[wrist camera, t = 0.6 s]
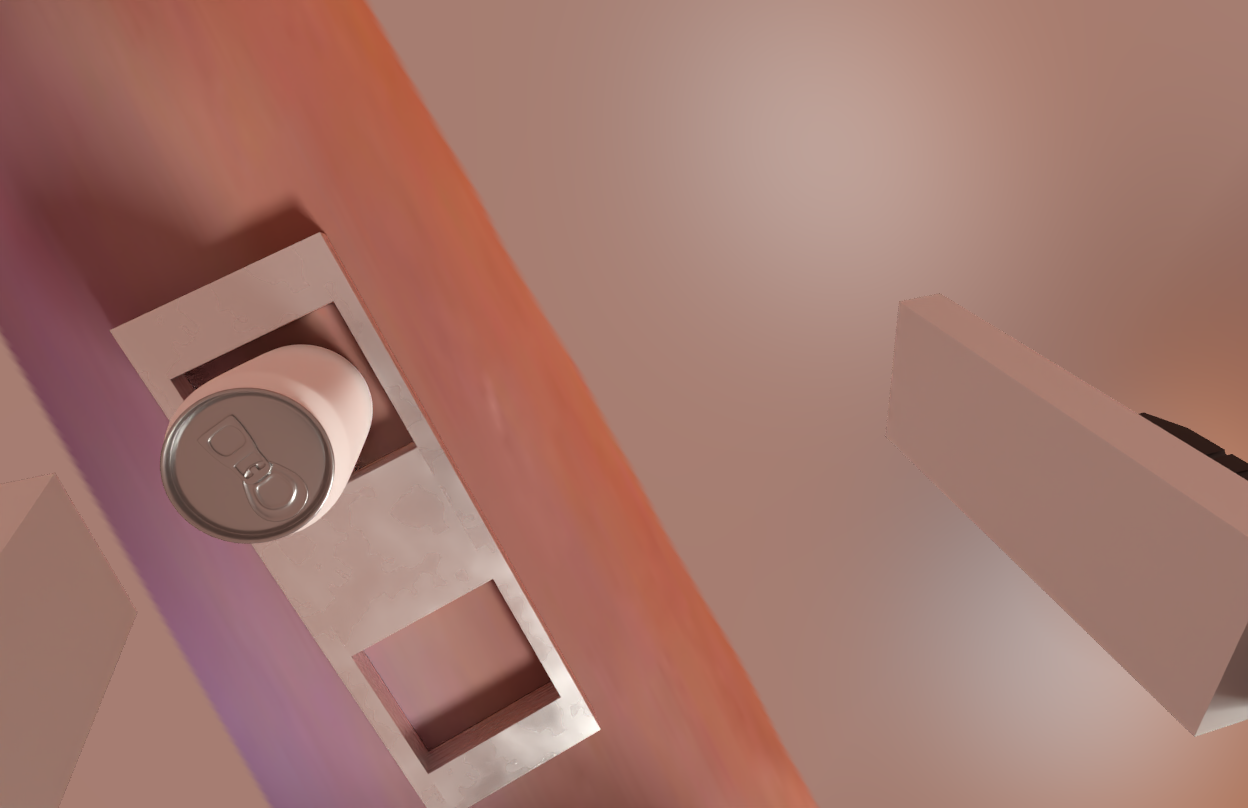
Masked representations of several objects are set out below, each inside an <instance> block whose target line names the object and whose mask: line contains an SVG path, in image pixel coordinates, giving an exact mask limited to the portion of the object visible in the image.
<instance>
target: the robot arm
mask: <svg viewBox="0 0 1248 808" xmlns="http://www.w3.org/2000/svg"><path fill="white" fill-rule="evenodd" d="M894 348H895V349H894V358H893V367H892V368H893V369H892V378H891V388H890V397H889V408H888V418H887V427H886V438H887V439H888V440H889V441H891V443H892V444H894V445H895V446H896V447H897V448H898V449H899V450H900V451H901V452H902V453H903V454H904V455H905V456H906V457H907V458H908V459H909V460H910V461H911V462H912V463H913V464H914V465H915V466H916V467H917V468H918V469H919V470H920V471H921V472H922V473H923V474H924V475H925V476H926V477H928V479H930V480H931V481H932V482H933V483H934V484H935V485H936V486H937V487H938V488H939V489H940V490H941V491H942V492H943V493H944V494H945V495H946V496H947V497H948V498H949V499H950V500H951V501H952V502H953V503H954V504H955V505H956V506H957V507H958V508H959V509H960V510H962V512H963V513H965V514H966V515H967V516H968V517H969V518H970V519H971V520H972V521H973V522H974V523H975V524H976V525H977V526H978V527H979V528H980V529H981V530H982V531H983V532H984V533H985V534H986V535H987V536H988V537H989V538H990V539H991V540H992V541H993V542H994V543H995V544H996V545H997V546H999V547H1000V548H1001V549H1002V550H1003V551H1004V552H1005V553H1006V554H1007V555H1008V556H1009V557H1010V558H1011V559H1012V560H1013V561H1014V562H1015V563H1016V564H1017V565H1018V566H1019V567H1020V568H1021V569H1022V570H1023V571H1024V572H1025V573H1026V574H1027V575H1028V576H1029V577H1030V578H1031V579H1033V580H1034V581H1035V582H1036V583H1037V584H1038V585H1039V586H1040V587H1041V588H1042V589H1043V590H1044V591H1045V592H1046V593H1047V594H1048V595H1049V596H1050V597H1051V598H1052V599H1053V600H1054V601H1055V602H1056V603H1057V604H1058V605H1059V606H1060V607H1061V608H1062V609H1063V610H1064V611H1065V612H1067V614H1068V615H1069V616H1071V617H1072V618H1073V619H1074V620H1075V621H1076V622H1077V623H1078V624H1079V625H1080V626H1081V627H1082V628H1083V629H1084V630H1085V631H1086V632H1087V633H1088V634H1089V635H1090V636H1091V637H1092V638H1093V639H1094V640H1095V641H1096V642H1097V643H1098V644H1099V645H1100V646H1101V647H1103V649H1104V650H1106V651H1107V652H1108V653H1109V654H1110V655H1111V656H1112V657H1113V658H1114V659H1115V660H1116V661H1117V662H1118V663H1119V664H1120V665H1121V666H1122V667H1123V668H1124V669H1125V670H1126V671H1127V672H1128V673H1129V674H1130V675H1131V676H1132V677H1133V678H1134V679H1135V680H1136V681H1137V682H1138V683H1139V684H1140V685H1142V686H1143V687H1144V688H1145V689H1146V690H1147V691H1148V692H1149V693H1150V694H1151V695H1152V696H1153V697H1154V698H1155V699H1156V700H1157V701H1158V702H1159V703H1160V704H1161V705H1162V706H1163V707H1164V708H1165V709H1166V710H1167V711H1168V712H1170V713H1171V715H1172V716H1173V717H1175V718H1176V719H1177V720H1178V721H1179V722H1180V723H1181V724H1182V725H1183V726H1184V727H1185V728H1186V729H1187V730H1188V731H1189V732H1190V733H1191V734H1192V735H1193V736H1194V737H1195V736H1198V735H1201V734H1204V733H1207V732H1210V731H1213V730H1216V729H1220V728H1223V727H1225V726H1229V725H1231V724H1235V723H1238V722H1241V721H1244V720H1247V719H1248V463H1246V462H1245V461H1243V460H1241V459H1239V458H1238V457H1236V456H1234V455H1233V454H1230V455H1226V454H1225V450H1224V449H1222V448H1220V447H1219V446H1217V445H1216V444H1214V443H1212V442H1210V441H1209V440H1207V439H1205V438H1204V437H1202V436H1200V435H1199V434H1197V433H1195V432H1194V431H1192V430H1190V429H1188V428H1186V427H1183V426H1180V425H1178V424H1175V423H1172V422H1169V421H1166V420H1163V419H1160V418H1158V417H1155V416H1152V415H1149V414H1146V413H1141V414H1137V413H1136V412H1134V411H1132V410H1130V409H1129V408H1127V407H1126V406H1124V405H1122V404H1121V403H1119V402H1118V401H1116V400H1114V399H1113V398H1111V397H1109V396H1108V395H1106V394H1104V393H1103V392H1101V391H1099V390H1098V389H1096V388H1095V387H1093V386H1091V385H1090V384H1088V383H1086V382H1085V381H1083V380H1081V379H1080V378H1078V377H1076V376H1075V375H1073V374H1071V373H1070V372H1068V371H1067V370H1065V369H1063V368H1062V367H1060V366H1058V365H1057V364H1055V363H1053V362H1052V361H1050V360H1048V359H1047V358H1045V357H1043V356H1042V355H1040V354H1038V353H1037V352H1035V351H1034V350H1032V349H1030V348H1029V347H1027V346H1025V345H1024V344H1022V343H1021V342H1019V341H1017V340H1015V339H1014V338H1012V337H1011V336H1009V335H1007V334H1006V333H1004V332H1002V331H1001V330H999V329H997V328H996V327H994V326H993V325H991V324H989V323H988V322H986V321H984V320H983V319H981V318H979V317H978V316H976V315H975V314H973V313H971V312H969V311H968V310H966V309H965V308H963V307H961V306H960V305H958V304H956V303H955V302H953V301H952V300H950V299H948V298H947V297H945V296H943V295H942V294H940V293H939V294H934V295H929V296H924V297H919V298H914V299H909V300H904V301H899V308H898V317H897V327H896V337H895V347H894ZM136 615H137V610H136V608H135V607H134V605H133V603H132V602H131V600H130V598H129V596H128V595H127V593H126V591H125V590H124V588H123V586H122V585H121V583H120V581H119V580H118V578H117V576H116V575H115V573H114V571H113V570H112V568H111V566H110V564H109V563H108V561H107V559H106V558H105V556H104V554H103V553H102V551H101V550H100V548H99V546H98V544H97V543H96V541H95V539H94V538H93V536H92V534H91V532H90V531H89V529H88V527H87V526H86V524H85V523H84V521H83V519H82V517H81V516H80V514H79V512H78V511H77V509H76V507H75V506H74V504H73V502H72V500H71V499H70V497H69V495H68V494H67V492H66V491H65V489H64V487H63V485H62V484H61V482H60V480H59V479H58V477H57V475H56V473H52V474H47V475H42V476H38V477H32V478H27V479H23V480H18V481H13V482H8V483H3V484H0V808H59V805H60V803H61V800H62V798H63V795H64V793H65V790H66V788H67V786H68V783H69V781H70V778H71V776H72V773H73V771H74V768H75V766H76V763H77V761H78V758H79V756H80V753H81V751H82V748H83V746H84V744H85V741H86V738H87V736H88V734H89V731H90V729H91V726H92V724H93V721H94V719H95V716H96V713H97V711H98V709H99V706H100V704H101V701H102V699H103V697H104V694H105V692H106V689H107V687H108V684H109V682H110V679H111V677H112V674H113V672H114V669H115V667H116V664H117V662H118V659H119V657H120V655H121V652H122V649H123V647H124V645H125V642H126V640H127V637H128V635H129V632H130V630H131V627H132V625H133V622H134V620H135V617H136Z"/></svg>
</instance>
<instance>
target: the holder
mask: <svg viewBox="0 0 1248 808" xmlns="http://www.w3.org/2000/svg"><path fill="white" fill-rule="evenodd" d="M332 302H334V303H335V304H336V306H337V308H338V310H339V311H340V313H341V315H342V317H343V318H344V320H345V322H346V324H347V325H348V327H349V329H350V331H351V332H352V334H353V336H354V338H355V339H356V341H357V343H358V345H359V346H360V348H361V350H362V352H363V353H364V355H365V357H366V358H367V360H368V362H369V364H370V365H371V367H372V369H373V371H374V372H375V374H376V376H377V378H378V379H379V381H380V383H381V385H382V386H383V388H384V390H385V392H386V393H387V395H388V397H389V399H390V400H391V402H392V404H393V406H394V407H395V409H396V411H397V412H398V414H399V416H400V418H401V419H402V421H403V423H404V425H405V426H406V428H407V430H408V432H409V433H410V435H411V437H412V439H413V440H414V441H413V442H411V443H409V444H407V445H406V446H404V447H402V448H400V449H398V450H396V451H394V452H392V453H390V454H388V455H386V456H384V457H382V458H380V459H378V460H376V461H374V462H373V463H371V464H369V465H367V466H365V467H363V468H361V469H359V470H357V471H355V472H353V473H351V476H350V478H349V480H348V482H347V484H346V486H345V488H344V490H343V492H342V494H341V495H340V497H339V498H338V500H337V501H336V503H335V504H334V505H333V506H332V507H331V508H330V510H329V511H328V512H327V513H326V514H325V515H323V516H322V517H321V518H320V519H319V520H317V521H316V522H315V523H313V524H312V525H310V526H308V527H306V528H305V529H303V530H300V531H298V532H296V533H293V534H290V535H287V536H285V537H283V538H280V539H277V540H273V541H269V542H264V543H253V544H252V546H253V547H254V549H255V550H256V552H257V553H258V555H259V556H260V558H261V559H262V561H263V562H264V564H265V565H266V567H267V568H268V570H269V571H270V573H271V574H272V576H273V577H274V579H275V580H276V582H277V583H278V585H279V586H280V588H281V589H282V591H283V592H284V594H285V595H286V597H287V598H288V600H289V601H290V603H291V604H292V606H293V607H294V609H295V610H296V612H297V613H298V615H299V616H300V618H301V619H302V621H303V622H304V624H305V625H306V627H307V628H308V630H309V632H310V633H311V635H312V636H313V638H314V639H315V641H316V642H317V644H318V645H319V647H320V648H321V650H322V651H323V653H324V654H325V656H326V657H327V659H328V660H329V662H330V663H331V665H332V666H333V668H334V669H335V671H336V672H337V674H338V675H339V677H340V678H341V680H342V681H343V683H344V684H345V686H346V687H347V689H348V690H349V692H350V693H351V695H352V696H353V698H354V699H355V701H356V702H357V704H358V705H359V707H360V708H361V710H362V711H363V713H364V714H365V716H366V717H367V719H368V720H369V722H370V723H371V725H372V726H373V728H374V729H375V731H376V732H377V734H378V735H379V737H380V738H381V740H382V741H383V743H384V744H385V746H386V747H387V749H388V750H389V752H390V753H391V755H392V756H393V758H394V759H395V761H396V762H397V764H398V765H399V767H400V768H401V770H402V771H403V773H404V774H405V776H406V777H407V779H408V780H409V782H410V783H411V785H412V787H413V788H414V790H415V791H416V793H417V794H418V796H419V797H420V799H421V800H422V802H423V803H424V805H425V806H426V808H468V807H470V806H472V805H473V804H475V803H477V802H479V801H480V800H482V799H484V798H485V797H487V796H489V795H490V794H492V793H494V792H495V791H497V790H499V789H501V788H502V787H504V786H506V785H507V784H509V783H511V782H512V781H514V780H516V779H518V778H519V777H521V776H523V775H524V774H526V773H528V772H529V771H531V770H533V769H534V768H536V767H538V766H540V765H541V764H543V763H545V762H546V761H548V760H550V759H551V758H553V757H555V756H557V755H558V754H560V753H562V752H563V751H565V750H567V749H568V748H570V747H572V746H573V745H575V744H577V743H579V742H580V741H582V740H584V739H585V738H587V737H589V736H590V735H592V734H594V733H596V732H597V731H599V730H601V729H600V726H599V723H598V721H597V718H596V715H595V712H594V709H593V708H592V706H591V704H590V702H589V701H588V699H587V697H586V695H585V693H584V692H583V690H582V688H581V686H580V685H579V683H578V681H577V679H576V677H575V676H574V674H573V672H572V670H571V669H570V667H569V665H568V663H567V661H566V660H565V658H564V656H563V654H562V653H561V651H560V649H559V647H558V645H557V644H556V642H555V640H554V638H553V637H552V635H551V633H550V631H549V630H548V628H547V626H546V624H545V622H544V621H543V619H542V617H541V615H540V614H539V612H538V610H537V608H536V606H535V605H534V603H533V601H532V599H531V598H530V596H529V594H528V592H527V590H526V589H525V587H524V585H523V583H522V582H521V580H520V578H519V576H518V574H517V573H516V571H515V569H514V567H513V566H512V564H511V562H510V560H509V558H508V557H507V555H506V553H505V551H504V550H503V548H502V546H501V544H500V542H499V541H498V539H497V537H496V535H495V534H494V532H493V530H492V528H491V526H490V525H489V523H488V521H487V519H486V518H485V516H484V514H483V512H482V510H481V509H480V507H479V505H478V503H477V502H476V500H475V498H474V496H473V494H472V493H471V491H470V489H469V487H468V486H467V484H466V482H465V480H464V479H463V477H462V475H461V473H460V471H459V470H458V468H457V466H456V464H455V463H454V461H453V459H452V457H451V455H450V454H449V452H448V450H447V448H446V447H445V445H444V443H443V441H442V439H441V438H440V436H439V434H438V432H437V431H436V429H435V427H434V425H433V423H432V422H431V420H430V418H429V416H428V415H427V413H426V411H425V409H424V407H423V406H422V404H421V402H420V400H419V399H418V397H417V395H416V393H415V391H414V390H413V388H412V386H411V384H410V383H409V381H408V379H407V377H406V375H405V374H404V372H403V370H402V368H401V367H400V365H399V363H398V361H397V359H396V358H395V356H394V354H393V352H392V351H391V349H390V347H389V345H388V344H387V342H386V340H385V338H384V336H383V335H382V333H381V331H380V329H379V328H378V326H377V324H376V322H375V320H374V319H373V317H372V315H371V313H370V312H369V310H368V308H367V306H366V304H365V303H364V301H363V299H362V297H361V296H360V294H359V292H358V290H357V288H356V287H355V285H354V283H353V281H352V280H351V278H350V276H349V274H348V272H347V271H346V269H345V267H344V265H343V264H342V262H341V260H340V258H339V256H338V255H337V253H336V251H335V249H334V248H333V246H332V244H331V242H330V240H329V239H328V237H327V235H326V234H324V233H321V232H319V233H317V234H314V235H312V236H310V237H308V238H306V239H304V240H302V241H299V242H297V243H295V244H293V245H291V246H289V247H287V248H285V249H282V250H280V251H278V252H276V253H274V254H272V255H270V256H267V257H265V258H263V259H261V260H259V261H257V262H255V263H252V264H250V265H248V266H246V267H244V268H242V269H240V270H237V271H235V272H233V273H231V274H229V275H227V276H225V277H222V278H220V279H218V280H216V281H214V282H212V283H210V284H208V285H205V286H203V287H201V288H199V289H197V290H195V291H193V292H190V293H188V294H186V295H184V296H182V297H180V298H178V299H175V300H173V301H171V302H169V303H167V304H165V305H163V306H160V307H158V308H156V309H154V310H152V311H150V312H148V313H145V314H143V315H141V316H139V317H137V318H135V319H133V320H131V321H128V322H126V323H124V324H122V325H120V326H118V327H116V328H113V329H111V330H109V331H110V332H111V334H112V335H113V337H114V338H115V340H116V341H117V343H118V344H119V346H120V347H121V349H122V350H123V352H124V353H125V355H126V356H127V358H128V359H129V361H130V362H131V364H132V365H133V367H134V368H135V370H136V371H137V373H138V374H139V376H140V377H141V379H142V380H143V382H144V383H145V385H146V386H147V388H148V389H149V391H150V392H151V394H152V395H153V397H154V398H155V400H156V401H157V403H158V404H159V406H160V407H161V409H162V410H163V412H164V413H165V415H166V416H167V418H168V419H169V421H171V419H172V417H173V415H174V413H175V412H176V410H177V409H178V408H179V406H180V405H181V404H182V403H183V401H184V400H185V399H186V398H187V397H188V396H189V395H190V394H191V393H193V392H194V391H195V390H194V388H193V387H192V385H191V384H190V382H189V381H188V379H187V378H186V376H185V375H184V374H185V373H187V372H189V371H191V370H193V369H195V368H197V367H199V366H201V365H203V364H205V363H208V362H210V361H212V360H214V359H216V358H218V357H220V356H222V355H224V354H226V353H228V352H230V351H232V350H234V349H237V348H239V347H241V346H243V345H245V344H247V343H249V342H251V341H253V340H255V339H257V338H259V337H261V336H264V335H266V334H268V333H270V332H272V331H274V330H276V329H278V328H280V327H282V326H284V325H286V324H288V323H291V322H293V321H295V320H297V319H299V318H301V317H303V316H305V315H307V314H309V313H311V312H313V311H315V310H318V309H320V308H322V307H324V306H326V305H328V304H330V303H332ZM492 579H493V580H494V581H495V583H496V585H497V587H498V588H499V590H500V592H501V594H502V595H503V597H504V599H505V601H506V602H507V604H508V606H509V608H510V609H511V611H512V613H513V615H514V616H515V618H516V620H517V622H518V623H519V625H520V627H521V628H522V630H523V632H524V634H525V635H526V637H527V639H528V641H529V642H530V644H531V646H532V648H533V649H534V651H535V653H536V655H537V656H538V658H539V660H540V662H541V663H542V665H543V667H544V669H545V670H546V672H547V674H548V676H549V677H550V679H551V682H549V683H547V684H545V685H544V686H542V687H540V688H538V689H537V690H535V691H533V692H531V693H530V694H528V695H526V696H524V697H523V698H521V699H519V700H517V701H516V702H514V703H512V704H511V705H509V706H507V707H505V708H504V709H502V710H500V711H498V712H497V713H495V714H493V715H491V716H490V717H488V718H486V719H484V720H483V721H481V722H479V723H477V724H476V725H474V726H472V727H470V728H469V729H467V730H465V731H464V732H462V733H460V734H458V735H457V736H455V737H453V738H451V739H450V740H448V741H446V742H444V743H443V744H441V745H439V746H437V747H436V748H434V749H432V750H430V751H429V752H428V750H427V749H426V747H425V745H424V744H423V742H422V741H421V739H420V738H419V736H418V735H417V733H416V732H415V730H414V728H413V727H412V725H411V724H410V722H409V721H408V719H407V718H406V716H405V715H404V713H403V711H402V710H401V708H400V707H399V705H398V704H397V702H396V701H395V699H394V698H393V696H392V694H391V693H390V691H389V690H388V688H387V687H386V685H385V684H384V682H383V681H382V679H381V677H380V676H379V674H378V673H377V671H376V670H375V668H374V667H373V665H372V664H371V662H370V660H369V659H368V657H367V656H366V654H365V653H364V651H363V650H364V649H366V648H368V647H370V646H372V645H373V644H375V643H377V642H379V641H381V640H382V639H384V638H386V637H388V636H390V635H392V634H393V633H395V632H397V631H399V630H401V629H402V628H404V627H406V626H408V625H410V624H412V623H413V622H415V621H417V620H419V619H421V618H423V617H424V616H426V615H428V614H430V613H432V612H433V611H435V610H437V609H439V608H441V607H443V606H444V605H446V604H448V603H450V602H452V601H453V600H455V599H457V598H459V597H461V596H463V595H464V594H466V593H468V592H470V591H472V590H474V589H475V588H477V587H479V586H481V585H483V584H484V583H486V582H488V581H490V580H492Z"/></svg>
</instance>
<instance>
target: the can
mask: <svg viewBox="0 0 1248 808" xmlns="http://www.w3.org/2000/svg"><path fill="white" fill-rule="evenodd" d="M372 415H373V406H372V398H371V394H370V391H369V388H368V386H367V383H366V381H365V380H364V378H363V376H362V375H361V373H360V372H359V371H358V370H357V368H356V367H355V366H354V365H353V364H352V363H350V362H349V361H348V360H347V359H345V358H344V357H343V356H341V355H339V354H338V353H336V352H334V351H331V350H329V349H326V348H323V347H319V346H315V345H305V344H297V345H288V346H283V347H280V348H277V349H274V350H271V351H269V352H267V353H264V354H262V355H260V356H258V357H256V358H254V359H252V360H249V361H247V362H245V363H243V364H241V365H239V366H237V367H235V368H233V369H231V370H229V371H227V372H225V373H223V374H221V375H219V376H217V377H215V378H214V379H212V380H210V381H208V382H207V383H205V384H203V385H202V386H200V387H199V388H198V389H196V390H195V391H194V392H193V393H191V394H190V395H189V396H188V397H187V398H186V399H185V400H184V401H183V403H182V404H181V405H180V406H179V408H178V409H177V410H176V412H175V413H174V415H173V417H172V419H171V421H170V423H169V425H168V428H167V431H166V434H165V438H164V443H163V447H162V451H161V458H160V471H161V478H162V482H163V486H164V489H165V491H166V494H167V496H168V498H169V500H170V501H171V503H172V504H173V506H174V507H175V509H176V510H177V511H178V512H179V514H180V515H181V516H182V517H183V518H184V519H185V520H186V521H188V522H189V523H190V524H191V525H193V526H194V527H195V528H197V529H199V530H200V531H202V532H204V533H206V534H208V535H210V536H212V537H215V538H218V539H221V540H224V541H229V542H234V543H244V544H253V543H264V542H269V541H273V540H277V539H280V538H283V537H285V536H287V535H290V534H293V533H296V532H298V531H300V530H303V529H305V528H306V527H308V526H310V525H312V524H313V523H315V522H316V521H317V520H319V519H320V518H321V517H322V516H323V515H325V514H326V513H327V512H328V511H329V510H330V508H331V507H332V506H333V505H334V504H335V503H336V501H337V500H338V498H339V497H340V495H341V494H342V492H343V490H344V488H345V486H346V484H347V482H348V480H349V478H350V476H351V473H352V471H353V469H354V467H355V464H356V462H357V460H358V457H359V455H360V452H361V450H362V448H363V445H364V443H365V440H366V438H367V435H368V433H369V430H370V426H371V422H372Z"/></svg>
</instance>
